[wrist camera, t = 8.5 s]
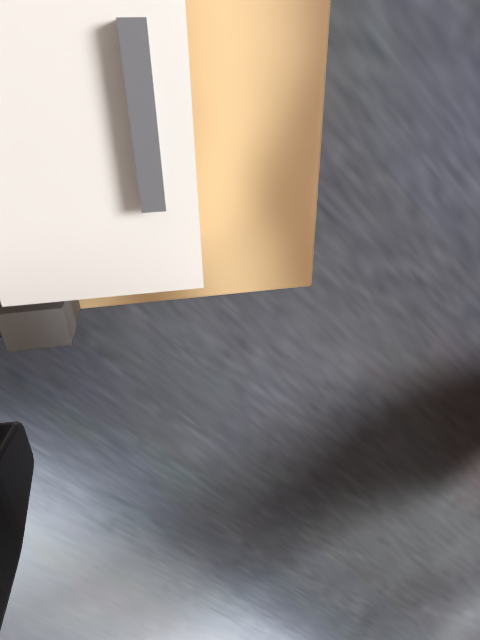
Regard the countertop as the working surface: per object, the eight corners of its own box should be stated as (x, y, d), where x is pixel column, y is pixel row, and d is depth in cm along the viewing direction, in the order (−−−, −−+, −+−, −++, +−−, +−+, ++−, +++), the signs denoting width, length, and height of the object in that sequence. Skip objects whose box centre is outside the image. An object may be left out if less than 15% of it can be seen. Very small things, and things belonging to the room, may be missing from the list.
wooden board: (319, -189, 13) (392, -287, 9) (297, 265, 20) (332, 316, 16) (-148, -213, 11) (-298, -345, 7) (9, 292, 18) (-26, 355, 15)
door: (167, -88, 12) (178, -154, 8) (191, 238, 17) (206, 297, 13) (-60, -93, 11) (-169, -168, 7) (33, 251, 16) (-4, 318, 12)
